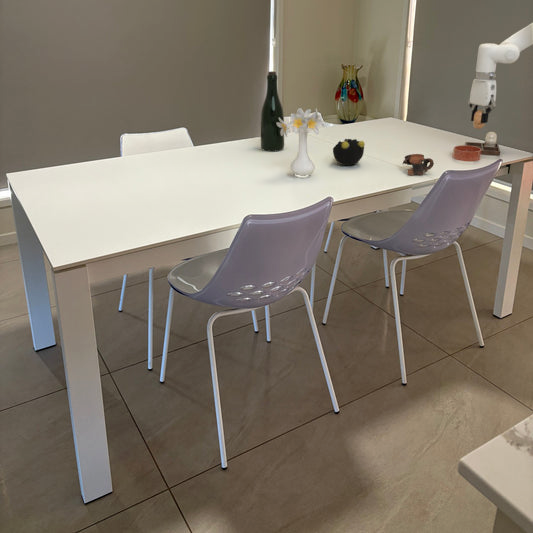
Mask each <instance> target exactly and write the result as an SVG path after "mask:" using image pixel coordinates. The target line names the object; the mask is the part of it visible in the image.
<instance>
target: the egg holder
mask: <svg viewBox="0 0 533 533" xmlns="http://www.w3.org/2000/svg"><path fill="white" fill-rule="evenodd" d="M484 144H485V142H473V141H472V142H471V141H465V142H464V145H467V146H475V147H479V148H481V149H482V152H481V156H495V157H496V156H497V157H500V156H501V149H500V145H499V143H496V146H495V147H485V146H484Z"/></svg>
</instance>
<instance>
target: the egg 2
mask: <svg viewBox="0 0 533 533" xmlns="http://www.w3.org/2000/svg"><path fill="white" fill-rule="evenodd" d="M497 138H498V134H497V133H496V132H495V131H488V132H487V133H486V134H485V139H484V143H485V144H484V146H485V147H495V146H496V144H497Z"/></svg>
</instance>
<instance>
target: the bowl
mask: <svg viewBox="0 0 533 533" xmlns="http://www.w3.org/2000/svg"><path fill="white" fill-rule="evenodd" d="M452 150H453V151H452V159H453V160H456V161H460V162H461V161H462V162H478V161H480V160H481V159H482V155H481V152H482V149H481V148H479V147H475V146H467V145H465V144H464V145H456V146H454V147H453V148H452Z"/></svg>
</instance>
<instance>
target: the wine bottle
mask: <svg viewBox="0 0 533 533" xmlns="http://www.w3.org/2000/svg"><path fill="white" fill-rule="evenodd" d="M278 90H279V89H278V75H277V71H272V70H271V71H268V72H267V75H266V93H265V98H264V101H263V104H262V107H261V112H260V149H261V150H262V151H264V152H265V151H266V152H280V151H282V150H284V149H285V133H284V134H283V136H281V133H280V131H281V129H282V128H280V127H278V126H277V124H276V123H277V122H279V123H281V122H280V121H279V117H280V118H281V120H282V121H283V122H284V123H285V116H284V114H285V113H284V108H283V105H282V102H281V100H280V99H281V98H280V96H279V91H278ZM263 149H264V150H263ZM268 150H270V151H268ZM275 150H276V151H275Z"/></svg>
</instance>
